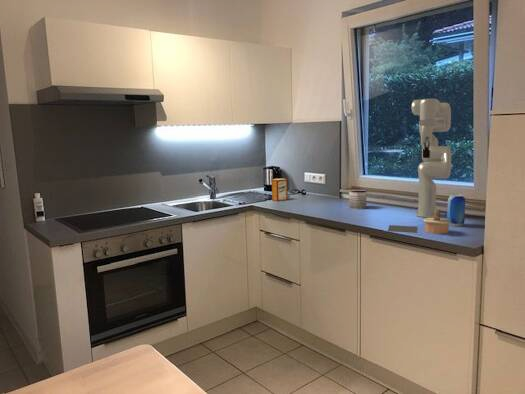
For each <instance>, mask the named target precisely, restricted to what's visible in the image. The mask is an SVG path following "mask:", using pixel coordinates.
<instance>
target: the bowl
mask: <svg viewBox="0 0 525 394" xmlns="http://www.w3.org/2000/svg"><path fill="white" fill-rule="evenodd" d="M449 229H450V225H449V224H430V223H426V222H424V232H426V233H429V234H433V235H434V234H435V235H436V234H437V235H445V234H448V233H449V232H450V231H449Z"/></svg>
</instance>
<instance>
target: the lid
mask: <svg viewBox="0 0 525 394" xmlns="http://www.w3.org/2000/svg"><path fill="white" fill-rule="evenodd" d="M423 222H424V223H425V222H426V223H430V224H449V223H450V222H451V221H450V220H449V219H447V218H443V217H441V209H435V210H434V217H424V218H423Z"/></svg>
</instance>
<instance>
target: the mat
mask: <svg viewBox="0 0 525 394" xmlns="http://www.w3.org/2000/svg"><path fill="white" fill-rule="evenodd" d="M387 232H393V233H394V232H395V233H397V232H398V233H411V234H412V233H413V234H418V226H415V225H414V226H413V225H410V226H409V225H394V224H392V225H391V224H389V225H388V229H387Z"/></svg>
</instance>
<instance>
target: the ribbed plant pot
mask: <svg viewBox="0 0 525 394" xmlns="http://www.w3.org/2000/svg"><path fill="white" fill-rule="evenodd" d="M348 193H349V195H348V198H349V199H348V203H349V204H348V205H349V206H348V209H350V210H364V209H367V196H368V195H367V190H366V189H351V190H349V192H348Z"/></svg>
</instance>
